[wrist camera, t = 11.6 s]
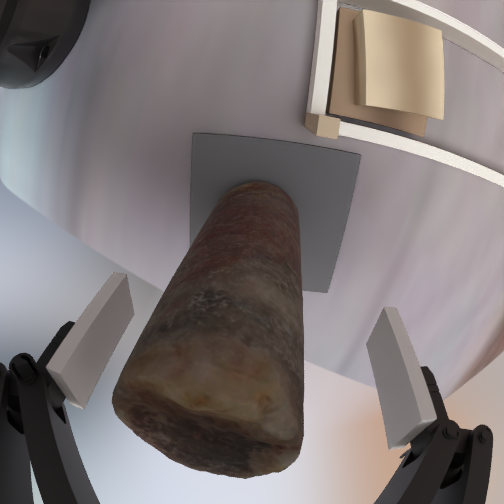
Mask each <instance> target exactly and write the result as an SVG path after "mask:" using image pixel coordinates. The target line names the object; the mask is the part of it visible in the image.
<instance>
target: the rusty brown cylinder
mask: <svg viewBox="0 0 504 504" xmlns="http://www.w3.org/2000/svg"><path fill="white" fill-rule="evenodd" d="M303 402H304V326H303V296H302V274H301V240H300V226H299V215H298V210H297V207H296V205H295V204H294V202H293V201H292V200H291V198H290V197H289V196H288V195H287V194H286V193H285V192H284V191H283V190H281V189H280V188H279V187H277V186H274V185H271V184H269V183H266V182H251V183H246V184H243V185H240V186H237V187H235V188H233V189H231V190H230V191H228V192H227V193H225V194H224V195H223V196H222V197H221V198H220V199H219V201H218V203H217V204H216V206H215V207H214V209H213V210H212V212H211V213H210V215H209V217H208V218H207V220H206V221H205V223H204V225H203V226H202V228H201V230H200V231H199V233H198V235H197V237H196V238H195V240H194V242H193V243H192V245H191V247H190V249H189V251H188V252H187V254H186V256H185V257H184V259H183V261H182V262H181V264H180V266H179V267H178V269H177V271H176V272H175V274H174V276H173V277H172V279H171V281H170V283H169V285H168V286H167V288H166V290H165V292H164V294H163V295H162V297H161V299H160V301H159V302H158V304H157V306H156V308H155V310H154V312H153V314H152V316H151V318H150V319H149V321H148V323H147V325H146V326H145V328H144V330H143V332H142V334H141V335H140V337H139V339H138V341H137V343H136V345H135V347H134V349H133V351H132V353H131V355H130V356H129V358H128V360H127V362H126V364H125V366H124V368H123V370H122V372H121V374H120V377H119V379H118V382H117V384H116V386H115V389H114V391H113V396H112V404H113V407H114V411H115V414H116V415H117V416H118V418H119V419H120V420H121V421H122V422H123V423H124V424H125V425H126V426H128V427H129V428H130V429H131V430H133V432H134V433H135V434H136V435H137V436H139V437H140V438H141V439H142V440H144V441H145V442H147V443H148V444H150V445H152V446H153V447H155V448H156V449H157V450H159V451H160V452H161V453H163V454H164V455H166V456H167V457H168V458H169V459H171V460H173V461H175V462H177V463H180V464H182V465H185V466H187V467H189V468H191V469H195V470H198V471H206V472H210V473H213V474H217V475H226V476H229V477H237V478H244V479H247V478H251V477H254V476H262V475H267V474H270V473H272V472H281V471H282V470H285V469H286V468H288V466H290V465H291V464H292V463H293V462H295V460H296V459H297V458H298V456H299V454H300V450H301V446H302V441H303V436H304V413H303Z"/></svg>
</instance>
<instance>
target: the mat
mask: <svg viewBox="0 0 504 504" xmlns="http://www.w3.org/2000/svg"><path fill="white" fill-rule="evenodd" d="M360 158H361V155H360V154H355V153H351V152H346V151H341V150H336V149H330V148H325V147H319V146H313V145H307V144H301V143H294V142H287V141H279V140H272V139H263V138H254V137H244V136H233V135H220V134H205V133H193V140H192V161H191V192H190V247H191V245H192V243H193V242H194V240H195V238H196V237H197V235H198V233H199V231H200V230H201V228H202V226H203V225H204V223H205V221H206V220H207V218H208V217H209V215H210V213H211V212H212V210H213V209H214V207H215V206H216V204H217V203H218V201H219V199H220V198H221V197H222V196H223V195H224V194H225V193H227V192H228V191H230V190H231V189H233V188H235V187H237V186H240V185H243V184H246V183H251V182H266V183H269V184H271V185H274V186H277V187H279V188H280V189H281V190H283V191H284V192H285V193H286V194H287V195H288V196H289V197H290V198H291V200H292V201H293V202H294V204H295V205H296V207H297V210H298V215H299V226H300V240H301V274H302V290H305V291H313V292H322V293H327V292H328V289H329V285H330V282H331V279H332V275H333V272H334V268H335V264H336V261H337V257H338V254H339V250H340V246H341V242H342V238H343V234H344V230H345V226H346V222H347V218H348V214H349V210H350V205H351V201H352V197H353V192H354V187H355V183H356V178H357V173H358V168H359V163H360Z"/></svg>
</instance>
